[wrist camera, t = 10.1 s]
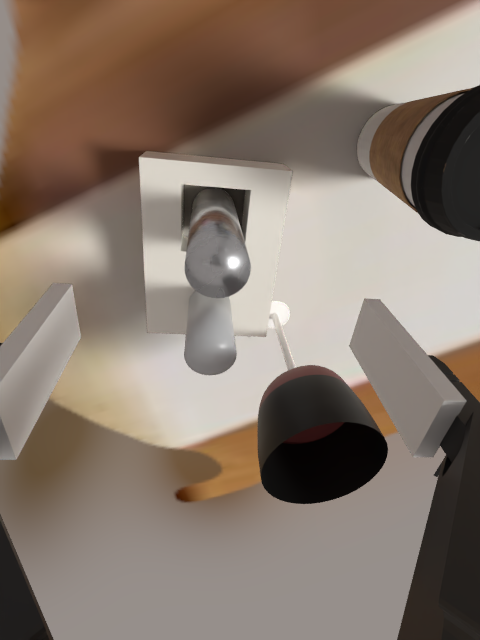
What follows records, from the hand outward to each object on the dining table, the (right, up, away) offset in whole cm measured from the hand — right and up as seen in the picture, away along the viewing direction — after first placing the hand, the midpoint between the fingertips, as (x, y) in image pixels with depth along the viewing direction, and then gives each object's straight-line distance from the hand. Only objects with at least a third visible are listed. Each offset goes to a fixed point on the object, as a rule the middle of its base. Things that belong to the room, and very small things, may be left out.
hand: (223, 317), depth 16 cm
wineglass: (+5, +1, +24) cm, 25 cm away
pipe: (-2, +10, +17) cm, 20 cm away
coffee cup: (+14, +16, +15) cm, 26 cm away
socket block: (-2, +7, +19) cm, 20 cm away
